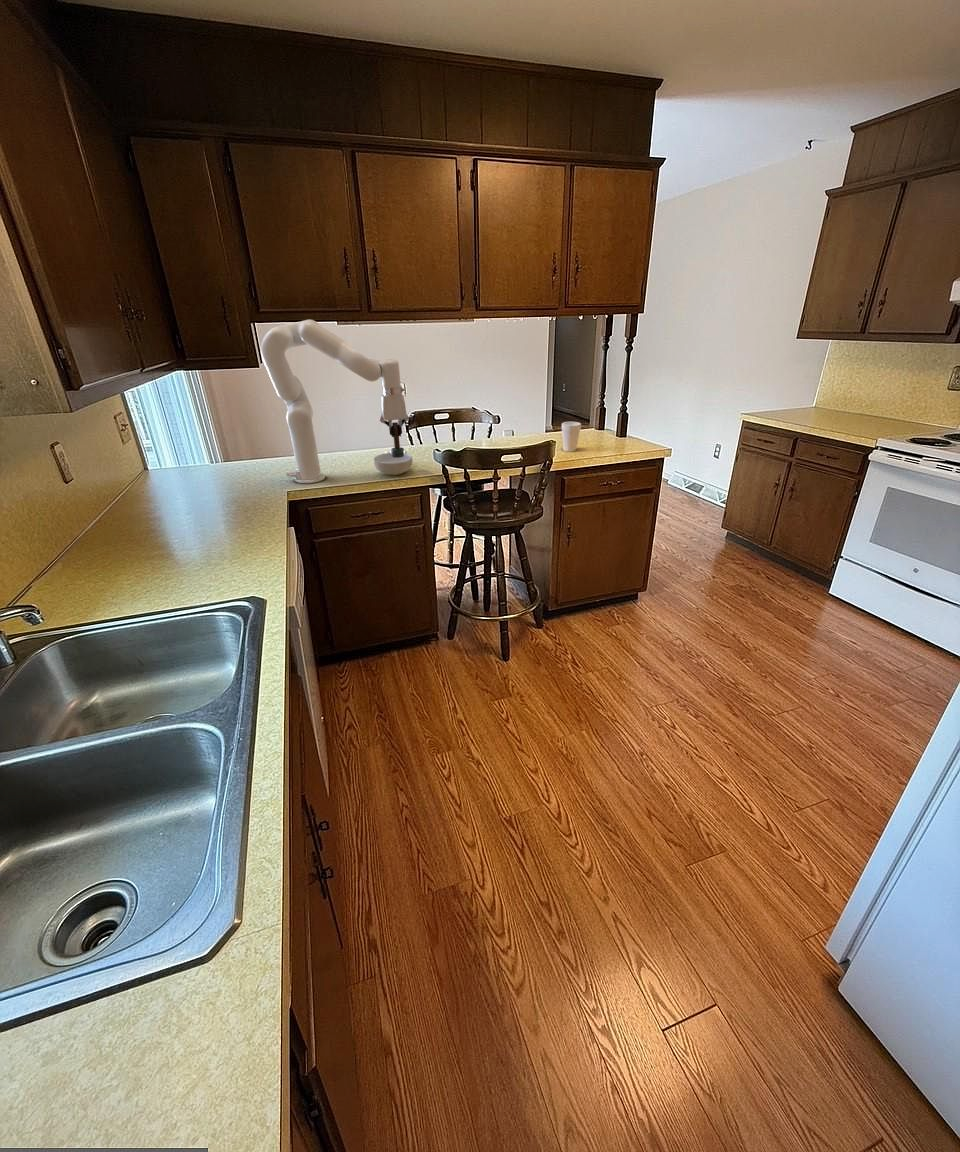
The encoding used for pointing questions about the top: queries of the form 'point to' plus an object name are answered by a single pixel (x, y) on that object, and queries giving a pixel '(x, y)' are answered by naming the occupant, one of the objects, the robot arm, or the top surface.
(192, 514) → the top surface
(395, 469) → the cereal bowl
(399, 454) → the brush
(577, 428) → the foam cup
